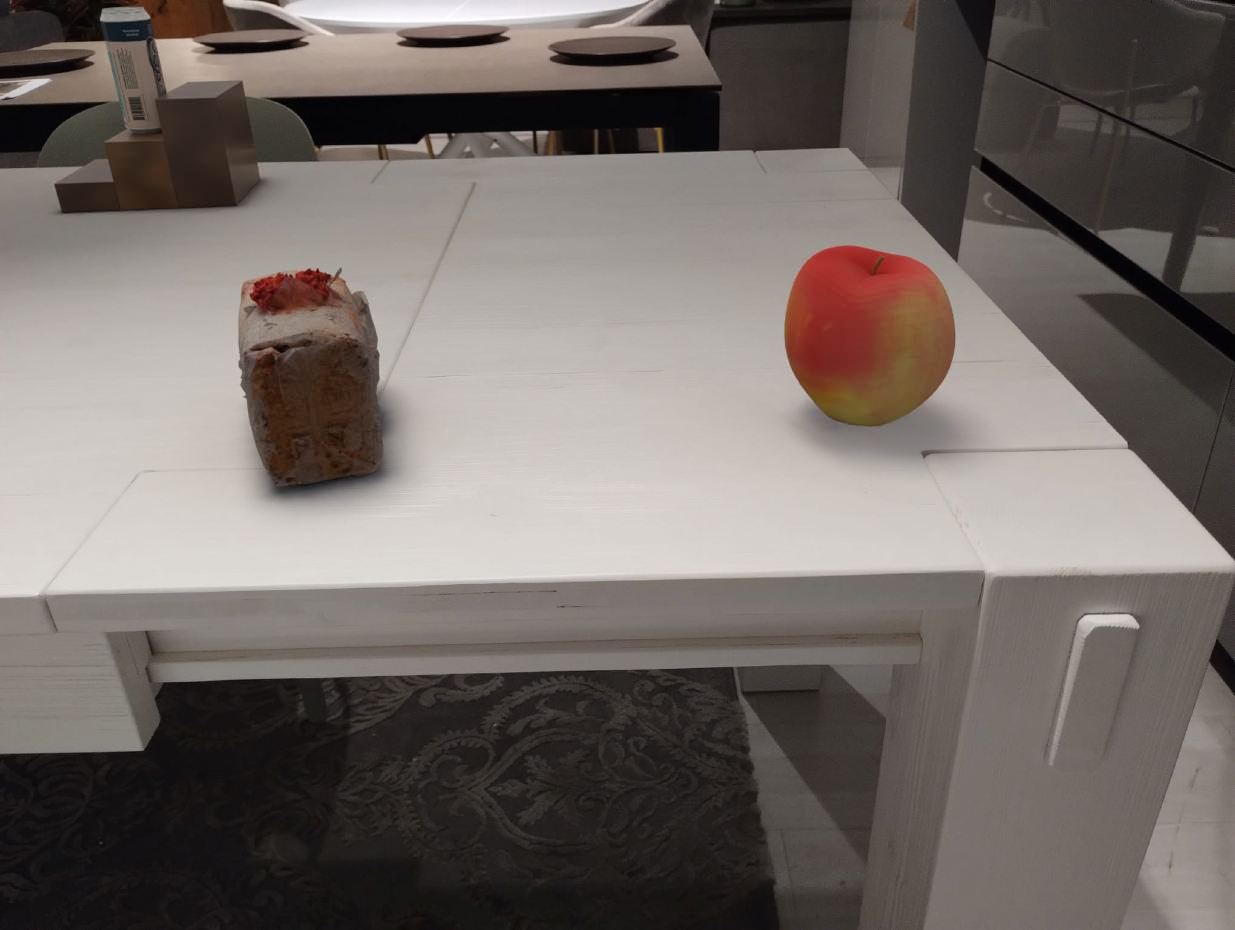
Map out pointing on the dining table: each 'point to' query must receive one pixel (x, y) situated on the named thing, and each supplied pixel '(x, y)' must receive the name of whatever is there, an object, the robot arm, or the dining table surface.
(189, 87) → the step shelf
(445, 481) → the dining table surface
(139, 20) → the beer can
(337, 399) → the food item
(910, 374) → the apple
